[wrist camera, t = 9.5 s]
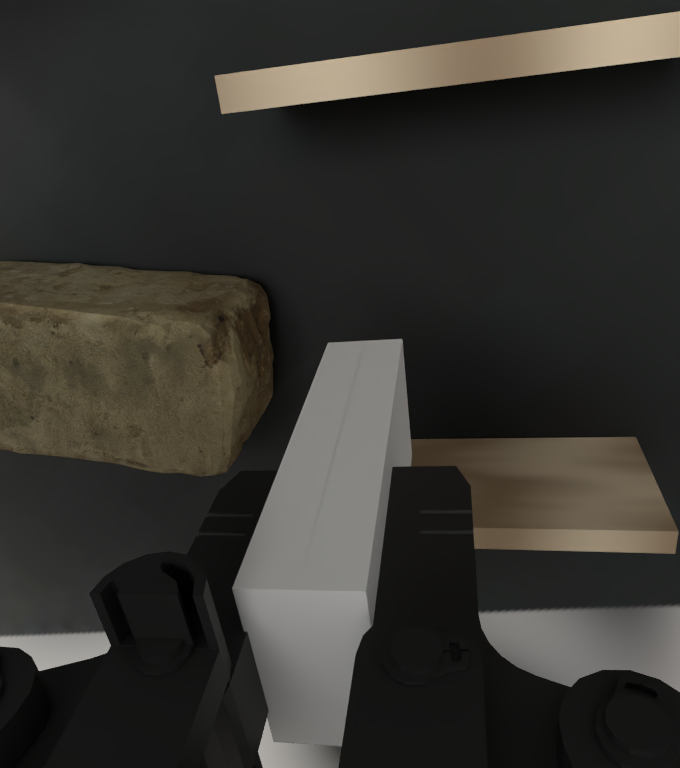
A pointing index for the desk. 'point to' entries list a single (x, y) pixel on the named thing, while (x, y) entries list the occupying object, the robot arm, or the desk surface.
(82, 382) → the stone block
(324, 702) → the robot arm
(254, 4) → the desk surface
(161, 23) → the desk surface
